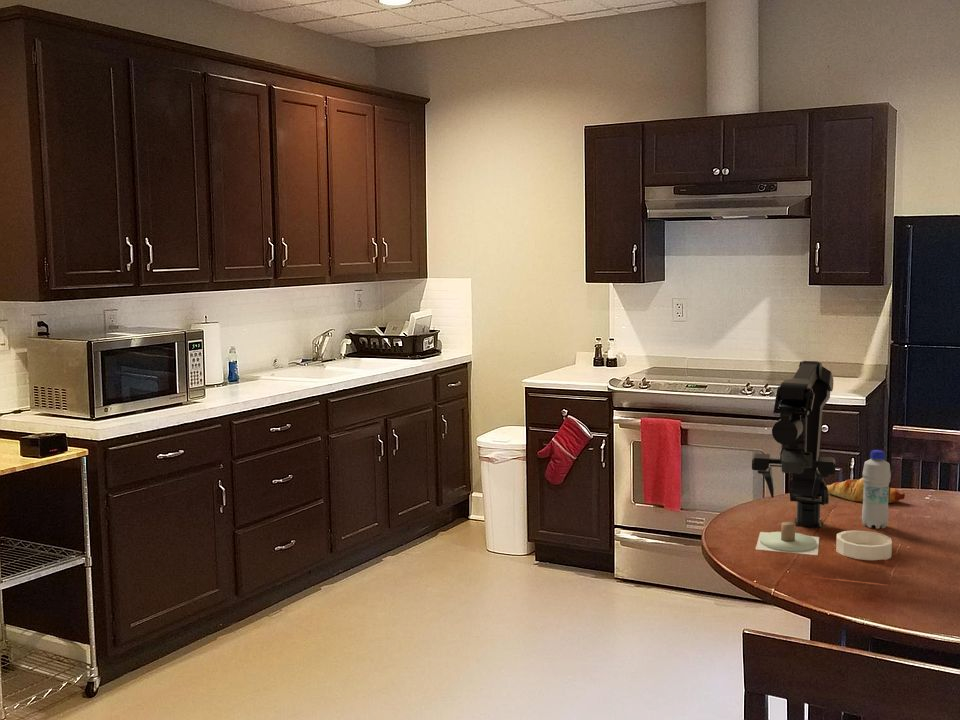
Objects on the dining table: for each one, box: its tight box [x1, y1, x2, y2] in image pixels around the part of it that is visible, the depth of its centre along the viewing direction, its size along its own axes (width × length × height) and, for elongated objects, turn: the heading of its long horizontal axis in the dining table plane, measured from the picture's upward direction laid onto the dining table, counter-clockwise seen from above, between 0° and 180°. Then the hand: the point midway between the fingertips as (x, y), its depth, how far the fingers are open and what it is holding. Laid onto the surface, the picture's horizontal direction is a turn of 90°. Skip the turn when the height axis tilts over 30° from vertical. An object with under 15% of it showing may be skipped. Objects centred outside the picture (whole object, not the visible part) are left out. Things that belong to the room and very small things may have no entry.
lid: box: [760, 521, 816, 552], centre depth 237 cm, size 13×13×5 cm
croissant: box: [826, 477, 906, 504], centre depth 275 cm, size 21×10×8 cm, turn 58°
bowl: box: [835, 529, 893, 561], centre depth 230 cm, size 12×12×4 cm
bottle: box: [861, 449, 892, 530], centre depth 248 cm, size 7×7×20 cm
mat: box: [755, 531, 820, 556], centre depth 237 cm, size 14×14×1 cm
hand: (792, 498), depth 233 cm, fingers open, 9 cm apart
